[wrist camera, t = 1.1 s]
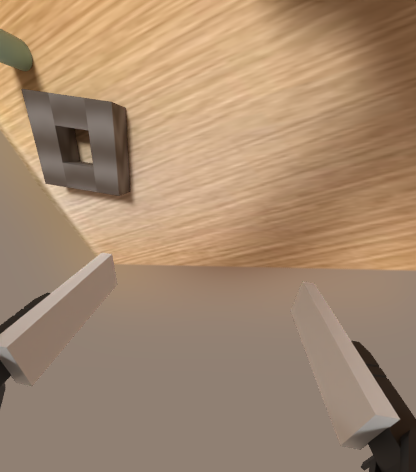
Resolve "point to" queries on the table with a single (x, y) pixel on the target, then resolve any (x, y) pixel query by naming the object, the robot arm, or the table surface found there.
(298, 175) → the table surface
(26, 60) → the peg
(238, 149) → the table surface
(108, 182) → the socket
